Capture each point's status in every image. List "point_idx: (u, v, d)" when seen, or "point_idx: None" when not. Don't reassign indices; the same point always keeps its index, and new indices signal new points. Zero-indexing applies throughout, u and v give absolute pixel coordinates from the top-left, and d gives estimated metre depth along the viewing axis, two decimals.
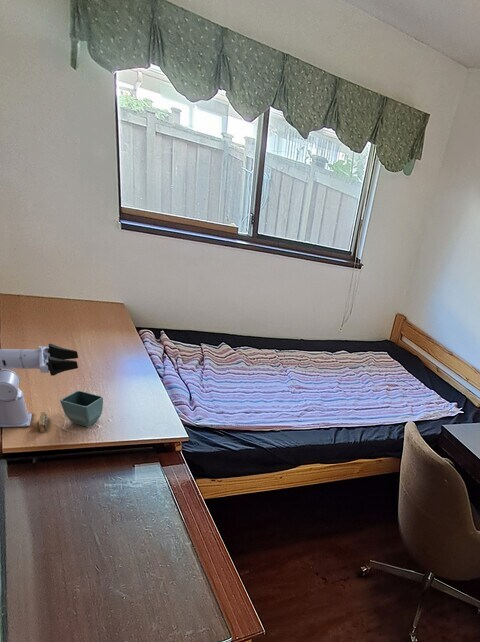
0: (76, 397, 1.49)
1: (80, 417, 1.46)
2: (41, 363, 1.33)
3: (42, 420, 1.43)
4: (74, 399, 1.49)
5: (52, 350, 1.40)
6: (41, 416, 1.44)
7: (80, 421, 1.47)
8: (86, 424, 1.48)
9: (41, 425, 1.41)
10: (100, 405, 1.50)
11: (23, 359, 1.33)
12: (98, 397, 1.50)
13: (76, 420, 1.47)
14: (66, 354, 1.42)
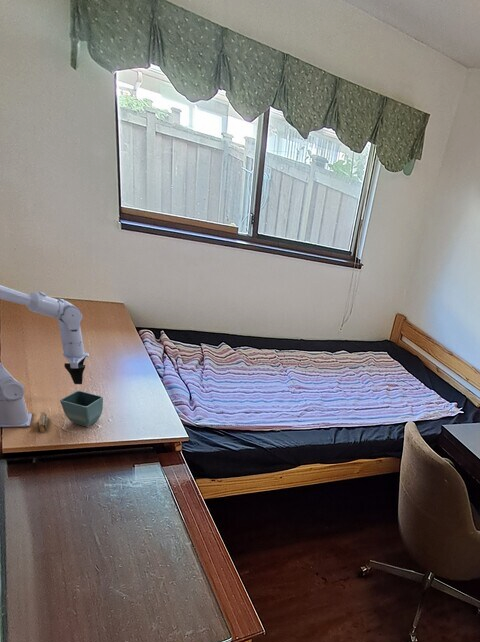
0: (76, 397, 1.49)
1: (80, 417, 1.46)
2: (78, 362, 1.45)
3: (42, 420, 1.43)
4: (74, 399, 1.49)
5: None
6: (41, 416, 1.44)
7: (80, 421, 1.47)
8: (86, 424, 1.48)
9: (41, 425, 1.41)
10: (100, 405, 1.50)
11: (76, 345, 1.44)
12: (98, 397, 1.50)
13: (76, 420, 1.47)
14: None
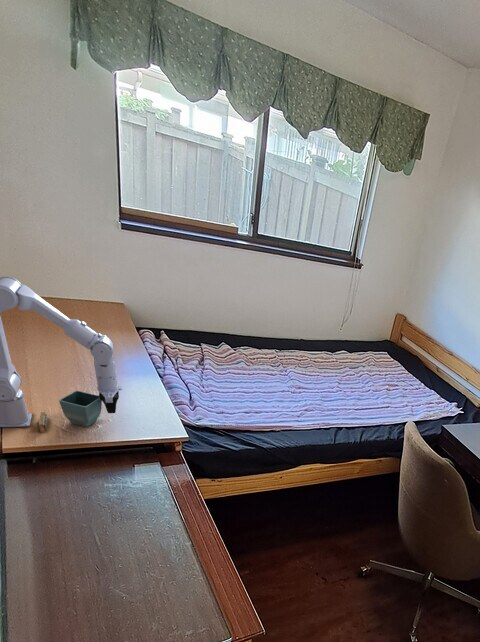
0: (74, 397, 1.49)
1: (79, 417, 1.46)
2: (112, 396, 1.45)
3: (42, 420, 1.43)
4: (73, 399, 1.49)
5: None
6: (41, 416, 1.44)
7: (79, 421, 1.47)
8: (85, 424, 1.48)
9: (41, 425, 1.41)
10: (99, 405, 1.50)
11: (110, 379, 1.45)
12: (97, 397, 1.50)
13: (75, 420, 1.47)
14: None
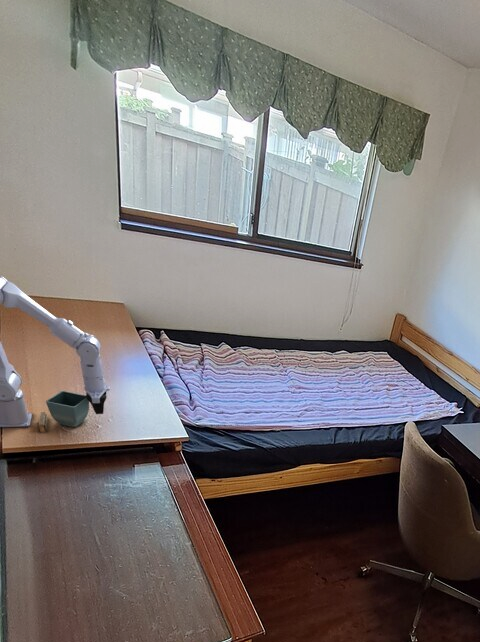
0: (60, 398, 1.47)
1: (67, 417, 1.44)
2: (100, 396, 1.43)
3: (42, 420, 1.43)
4: (59, 400, 1.47)
5: None
6: (41, 416, 1.44)
7: (67, 422, 1.46)
8: (74, 424, 1.46)
9: (41, 425, 1.41)
10: (87, 405, 1.49)
11: (97, 379, 1.43)
12: (84, 397, 1.49)
13: (63, 421, 1.45)
14: None
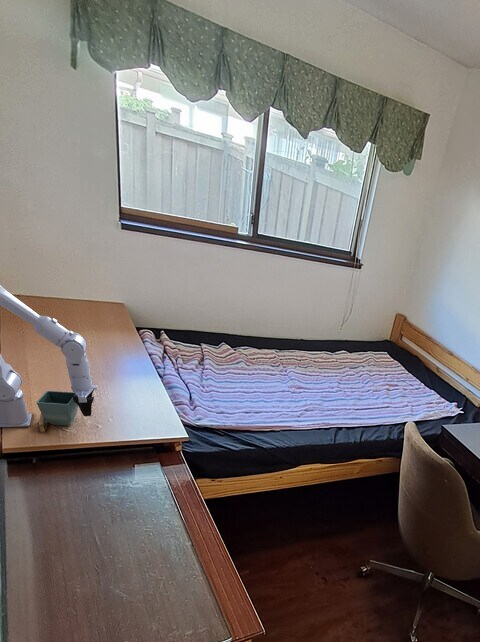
0: (47, 398, 1.46)
1: (61, 416, 1.44)
2: (86, 395, 1.42)
3: (42, 420, 1.43)
4: (46, 400, 1.45)
5: None
6: (41, 416, 1.44)
7: (61, 421, 1.45)
8: (68, 423, 1.46)
9: (41, 425, 1.41)
10: None
11: (83, 378, 1.41)
12: (71, 394, 1.48)
13: (56, 420, 1.45)
14: None
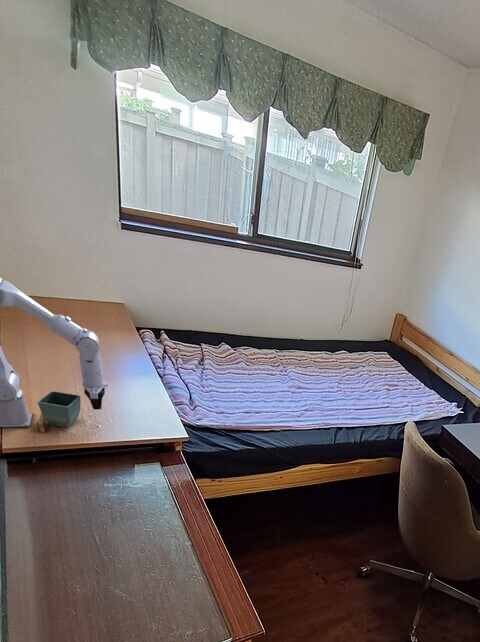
0: (50, 398, 1.46)
1: (60, 418, 1.43)
2: (98, 392, 1.43)
3: (42, 420, 1.43)
4: (50, 400, 1.45)
5: None
6: (41, 416, 1.44)
7: (60, 422, 1.45)
8: (67, 424, 1.46)
9: (41, 425, 1.41)
10: (78, 404, 1.48)
11: (95, 375, 1.43)
12: (75, 396, 1.48)
13: (56, 421, 1.44)
14: None
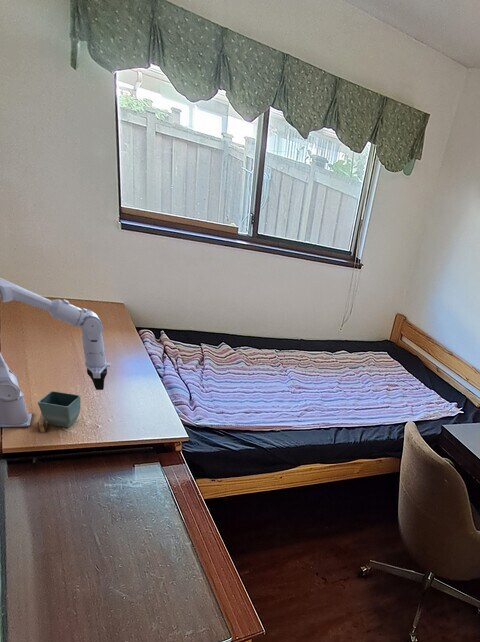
0: (50, 398, 1.46)
1: (60, 418, 1.43)
2: (100, 372, 1.45)
3: (42, 420, 1.43)
4: (50, 400, 1.45)
5: (101, 371, 1.50)
6: (41, 416, 1.44)
7: (60, 422, 1.45)
8: (67, 424, 1.46)
9: (41, 425, 1.41)
10: (78, 404, 1.48)
11: (98, 355, 1.44)
12: (75, 396, 1.48)
13: (56, 421, 1.44)
14: None
